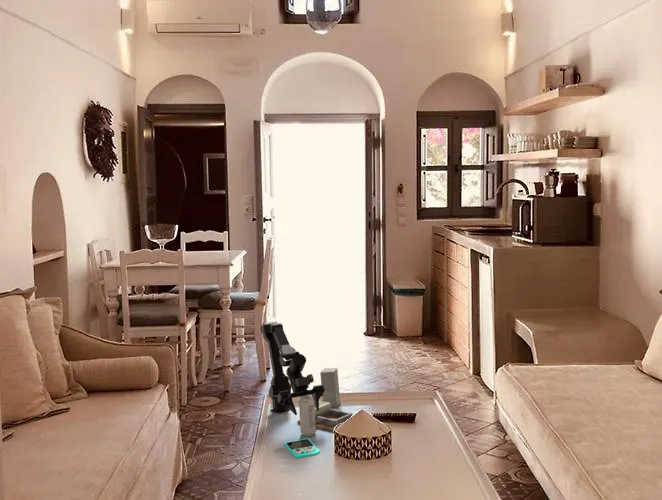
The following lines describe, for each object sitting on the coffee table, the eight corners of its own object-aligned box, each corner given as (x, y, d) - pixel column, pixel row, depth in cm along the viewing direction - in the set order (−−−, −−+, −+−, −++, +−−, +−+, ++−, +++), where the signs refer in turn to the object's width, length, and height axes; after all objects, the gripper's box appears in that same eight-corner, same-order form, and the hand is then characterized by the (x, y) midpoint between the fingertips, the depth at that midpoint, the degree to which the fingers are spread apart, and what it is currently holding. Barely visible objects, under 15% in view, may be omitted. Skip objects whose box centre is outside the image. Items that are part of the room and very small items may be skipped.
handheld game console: (295, 459, 266) (295, 456, 266) (283, 445, 281) (283, 441, 281) (321, 455, 270) (321, 451, 269) (308, 440, 285) (308, 437, 284)
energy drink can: (306, 430, 295) (304, 394, 293) (318, 432, 291) (317, 395, 290) (297, 435, 289) (295, 398, 288) (310, 437, 286) (308, 400, 285)
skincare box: (337, 407, 322) (335, 372, 320) (321, 407, 323) (319, 372, 322) (340, 401, 330) (339, 367, 328) (325, 401, 332) (323, 367, 330)
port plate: (297, 423, 303) (296, 409, 303) (322, 412, 316) (321, 398, 315) (335, 432, 291) (334, 417, 290) (359, 420, 303) (358, 406, 302)
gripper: (278, 371, 289) (289, 406, 280) (321, 364, 296) (334, 398, 287) (272, 386, 297) (283, 420, 288) (315, 379, 304) (327, 412, 295)
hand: (307, 412), depth 289 cm, fingers open, 9 cm apart
